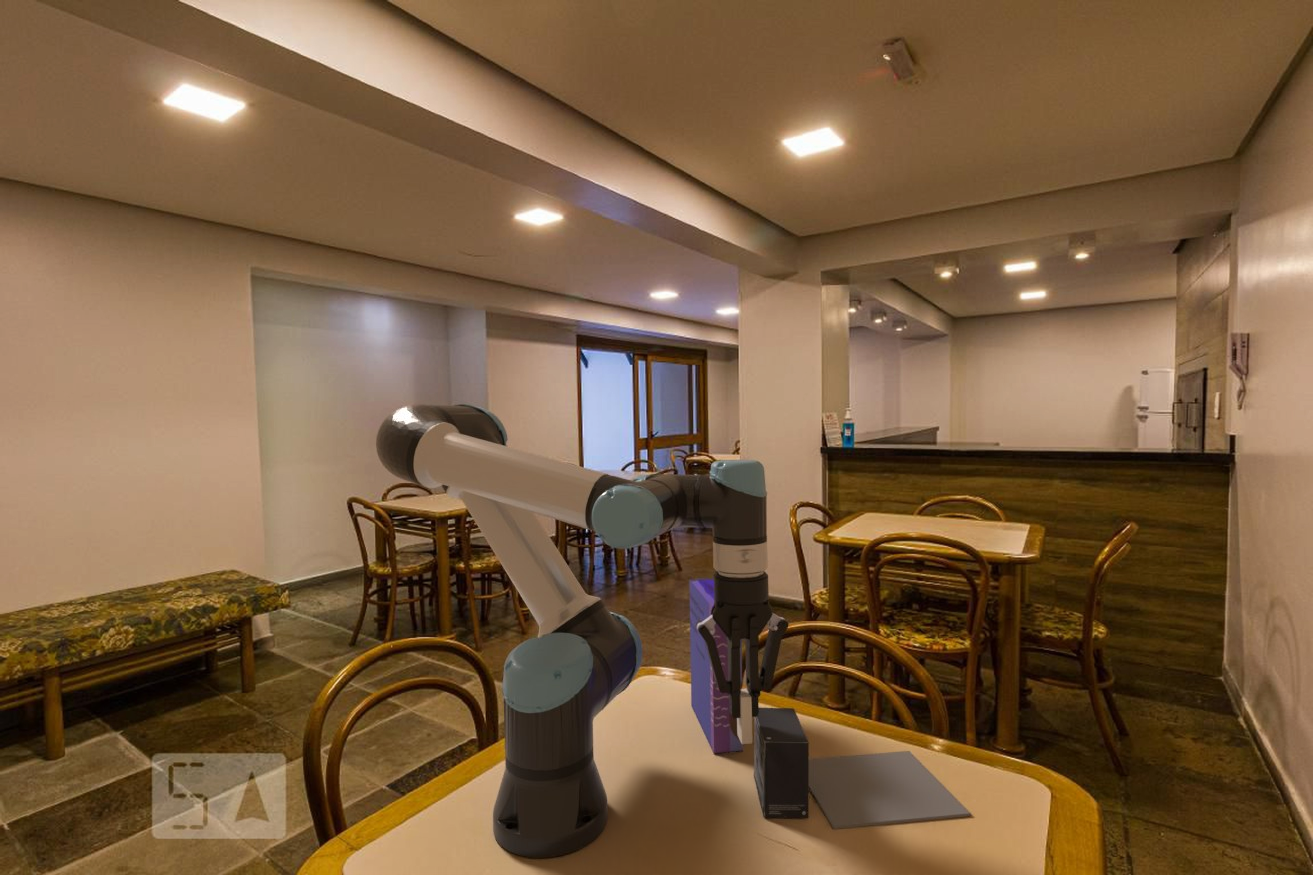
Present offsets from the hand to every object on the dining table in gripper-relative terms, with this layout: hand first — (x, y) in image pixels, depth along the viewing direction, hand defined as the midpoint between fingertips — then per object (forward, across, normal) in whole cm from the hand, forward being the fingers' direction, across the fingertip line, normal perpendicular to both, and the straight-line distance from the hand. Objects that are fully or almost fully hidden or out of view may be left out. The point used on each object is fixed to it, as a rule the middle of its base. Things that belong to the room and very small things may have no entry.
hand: (744, 738), depth 88 cm
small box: (+9, +5, 0) cm, 10 cm away
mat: (+9, +19, 0) cm, 21 cm away
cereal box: (+9, 0, +21) cm, 23 cm away
